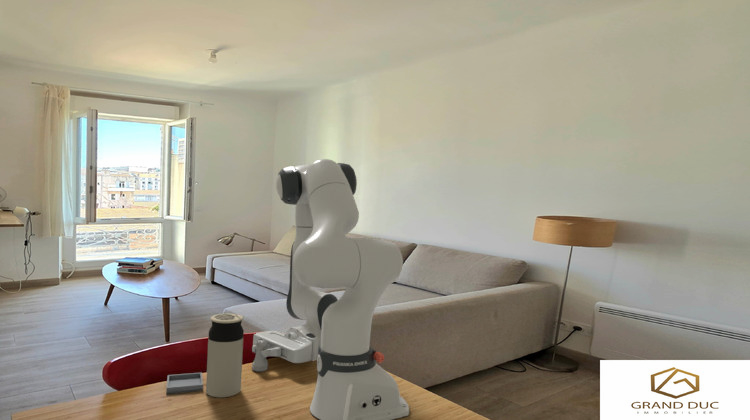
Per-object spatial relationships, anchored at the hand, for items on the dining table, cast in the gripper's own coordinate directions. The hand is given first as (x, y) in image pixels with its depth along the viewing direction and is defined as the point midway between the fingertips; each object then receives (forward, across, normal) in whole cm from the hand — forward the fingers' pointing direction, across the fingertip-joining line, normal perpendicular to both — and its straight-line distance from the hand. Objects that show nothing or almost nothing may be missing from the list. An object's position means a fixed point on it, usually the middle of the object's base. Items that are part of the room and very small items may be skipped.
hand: (258, 351), depth 130 cm
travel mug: (+14, +7, +5) cm, 16 cm away
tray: (+19, -2, +5) cm, 20 cm away
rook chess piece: (-1, 0, +5) cm, 5 cm away
